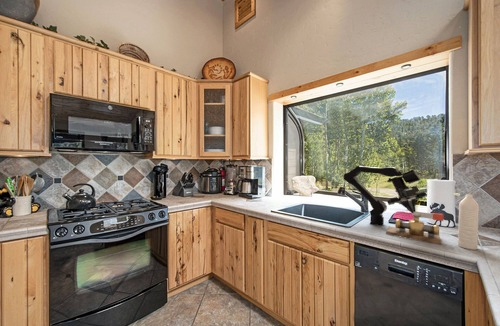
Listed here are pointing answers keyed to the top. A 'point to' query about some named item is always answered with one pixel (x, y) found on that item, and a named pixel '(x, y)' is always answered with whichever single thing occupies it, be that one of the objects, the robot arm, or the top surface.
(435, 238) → the valve board
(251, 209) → the top surface
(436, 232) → the valve body
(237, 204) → the top surface
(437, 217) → the valve lever
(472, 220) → the water bottle
